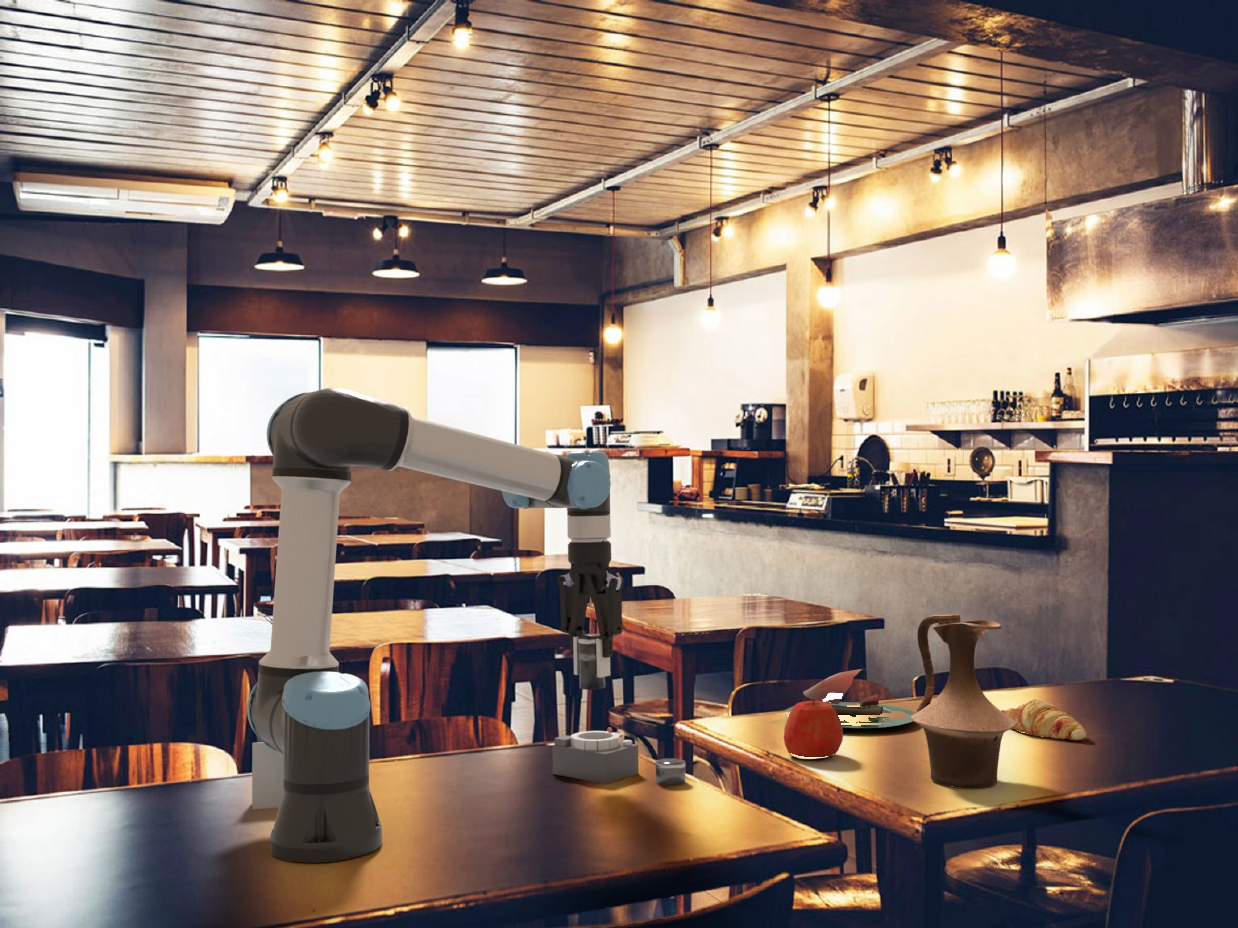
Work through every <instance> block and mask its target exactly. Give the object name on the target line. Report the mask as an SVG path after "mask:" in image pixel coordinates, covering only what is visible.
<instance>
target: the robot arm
mask: <svg viewBox="0 0 1238 928" xmlns="http://www.w3.org/2000/svg"><path fill="white" fill-rule="evenodd" d="M266 441H267V445H268V449H269V450H270V453H271V455H272V456H273V457H272V458H273V462H272V475H271V476H272V477H271V480H273V482H274V483H275V484H276V485H277V486H278V487H279V489H280V491H281V494H280V507H279V508H280V511H279V523H278V526H279V527H278V539H277V551H276V552H277V553H276V563H275V564H276V566H275V582H274V595H273V607H272V609H273V611H272V624H271V625H272V626H271V635H270V636H271V637H270V649H269V651H268V652H267V653H266V654H265V655H264V656H263V657H262V658H260V660H259V661H258V669H257V671H258V672H257V673H258V674H257V682H256V683H255V685H253V688H252V689H251V691H250V693H249V696H248V699H247V706H246V707H247V708H246V710H247V711H246V712H247V714H246V715H247V718H248V719H247V720H248V721H249V725H250V728H251V729H252V730H253V733H255V735H256V737H257V738H258V739H259V741H260V742H264V743H265V745H267V746H268V747H270V748H272V749H274V750H276V751H279V752H281V753H282V754H283V778H284V789H283V797H282V800H281V803H280V807H278V810H277V814H276V818H275V820H274V824H273V829H272V830H271V832H270V837H269V841H270V842H269V843H270V844H269V847H270V848H269V849H270V850H269V851H270V854H271V855H272V856H273V857H275V858H276V859H279V860H284V861H288V862H295V863H327V862H329V863H330V862H337V861H338V862H339V861H344V860H350V859H354V858H358V857H361V856H364V855H367V854H369V853H371V852H374V851H376V850H377V849H379V848H380V846H382V844H383V828H382V822H381V821H380V818H379V815H378V810H377V807H376V805H375V801H374V799H373V796H372V793H371V790H370V712H371V702H370V699H369V697H370V696H369V689H368V685H367V684H366V682H365V681H364V680H363V679H362V678H360V677H358V676H355V675H353V674H351V673H350V674H349V673H341V672H340V671H339V667H340V666H339V665H340V664H339V661H338V660H337V659H336V658H335V656H333V654H332V653H331V651H330V649H331V648H330V645H331V631H332V618H333V616H332V615H333V601H334V588H335V586H334V585H335V574H336V571H335V570H336V558H337V557H336V556H337V542H338V527H339V513H340V501H341V500H340V499H341V498H340V496H341V493H342V492H343V491H344V490H345V489H346V488H347V487H349V486H350V485H351V483H352V472H353V471H352V469H353V467H364V468H375V469H380V470H384V471H388V472H391V471H394V470H395V469H396V468H398V467H401V468H405V469H407V470H408V469H409V470H413V471H416V472H422V473H426V474H430V475H434V476H437V477H443V478H447V479H452V480H455V481H459V482H463V483H468V484H473V485H476V486H479V487H480V486H481V487H485V488H490V489H493V490H497V491H501V494H502V497H503V500H504V502H505V504H506V505H507V506H508V507H510V508H511V509H512V508H513V509H524V510H527V509H566V512H567V513H566V514H567V515H566V517H567V518H566V519H567V520H566V521H567V523H566V524H567V538H568V539H569V540H570V542H568V544H567V558H568V559H567V560H568V563H570V568H569V572H568V573H567V574H564V575H558V576H557V577H556V578H557V579H556V580H557V583H558V586H559V587H558V588H559V596H560V597H559V601H560V602H559V603H560V605H559V606H560V607H559V608H560V630H561V632H563V633H567V634H568V635H569V636H570V653H571V655H573V675H574V676H578V675H579V676H580V673H579V643H578V638H579V635H583V634H587V632H586V631H584V627H585V622H586V615H587V610H588V609H587V607H588V604H589V603H588V601H589V599H590V600H591V601H592V603H593V607H594V613H595V614H594V615H595V618H596V623H597V627H598V634H600V636H598V637H597V638H598V639H596V652H597V677H599V678H601V677H605V678H606V677H610V676H611V657H613V655H614V650H613V645H614V643H613V640H614V638H615V637H616V636H618V635H622V633H623V595H622V594H623V592H622V591H623V587H624V584H625V579H624V578H623V577H622V576H621V577H620V576H619V577H617V576H615V575H613V574H612V570H611V568H610V563H611V561H612V542H611V541H609V540H608V539H609V538H611V536H612V534H611V533H612V531H611V483H612V482H611V473H610V472H611V471H610V469H611V468H610V462H609V456H608V455H607V453H605V452H604V451H571V452H568V453H567V454H566V456H565V457H564V456H560V455H556V454H552V453H549V452H545V451H541V450H538V449H533V448H531V447H527V446H524V445H523V446H522V445H519V444H516V443H511V442H508V441H505V440H502V439H501V440H500V439H498V438H497V439H496V438H493V437H489V436H486V435H482V434H478V433H475V432H472V431H467V430H464V429H459V428H456V427H452V426H448V425H445V424H441V423H437V422H433V421H429V420H427V419H421V418H420V417H416V416H413V415H411V413H410V411H409V409H408V408H407V407H404V406H400V405H398V404H393V403H391V402H389V401H388V402H387V401H385V400H381V399H378V398H375V397H371V396H368V395H366V394H362V393H359V392H357V391H354V390H350V389H346V388H339V387H330V388H329V387H328V388H323V389H319V390H316V391H314V390H313V391H310V392H308V391H307V392H302V393H298V394H295V395H293V396H292V397H289V398H288V399H286V400H284V401H283V402H282V403H281V404H280V405H279V406H277V407H276V408H275V410H274V412H273V413H272V415H271V416H270V418H269V421H268V423H267V428H266Z"/></svg>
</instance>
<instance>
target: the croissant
mask: <svg viewBox="0 0 1238 928" xmlns="http://www.w3.org/2000/svg"><path fill="white" fill-rule="evenodd" d="M1000 711H1002V712H1003V713H1004V714H1006V715H1007V716H1008V717H1010V718H1011V719H1013V720H1014V721H1015V722H1016V727H1014V728H1013V729H1015V730H1018V731H1020V732H1025V733H1028V734H1031V735H1035V736H1043V737H1051V738H1050V739H1053V738H1054V739H1053V740H1055V739H1056V740H1065V739H1066V740H1069V741H1081V740H1084V739H1085V738H1086V737H1087V732H1086V730H1085V728H1084V727H1083V725H1082V724H1081V723H1080V722H1079V721H1077V720H1075V718H1074V717H1073V716H1072V715H1071V713H1069V711H1068V712H1067V711H1063V710H1060V709H1058V707H1056V706H1055V705H1054V704H1052V703H1049V702H1047V701H1044V700H1041V699H1040V700H1038V699H1033V700H1030V701H1028V702H1026V703H1025V704H1021V705H1019V706H1017V707H1016V708H1013V707H1011V708H1008V709H1006V710H1004V709H1002V710H1000ZM1015 730H1014V731H1015ZM1031 735H1030V736H1031ZM1035 736H1034V737H1035ZM1043 737H1042V738H1043Z"/></svg>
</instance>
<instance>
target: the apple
mask: <svg viewBox="0 0 1238 928" xmlns="http://www.w3.org/2000/svg"><path fill="white" fill-rule="evenodd" d="M792 707H793V708H792V710H791V712H790V714H789V717H787V720H786V723H785V726H784V732H783V741H784V746H785V748H786V751H787V752H788V753H792V754H795V755H798V756H804V757H825V756H831V755H833V754H834V755H836V754H837V753H838V751H839V749H840V747H841V745H842V743H843V740H844V738H843V737H844V731H843V727H842V725H841V722H840V719H839V717H838V715H837V713H836V711H835V710H834V708H833V707H832V706H831V705H830V704H829V703H827V702H823V701H816V700H814V699H812V700H805V702H803V701H802V702H797V703H796V704H795V705H793V706H792ZM834 755H833V756H834ZM831 757H832V756H831Z"/></svg>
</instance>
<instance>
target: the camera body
mask: <svg viewBox="0 0 1238 928" xmlns="http://www.w3.org/2000/svg"><path fill="white" fill-rule="evenodd" d="M639 774H640V773H639V744H635V743H633V740H631V739H624V740H622V741H621V734H619V733H617V732H613V728H612V727H608V728H607V729H606V731H605V730H588V731H579V732H575V733H573V734H571V735H562V736H557V737H554V744H552V775H556V776H563V777H568V778H572V779H577V780H582V781H588V782H593V783H599V784H603V785H607V784H611V783H614V782H617V781H619V780H622V779H626V778H629V777H633V776H635V775H639Z"/></svg>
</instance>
